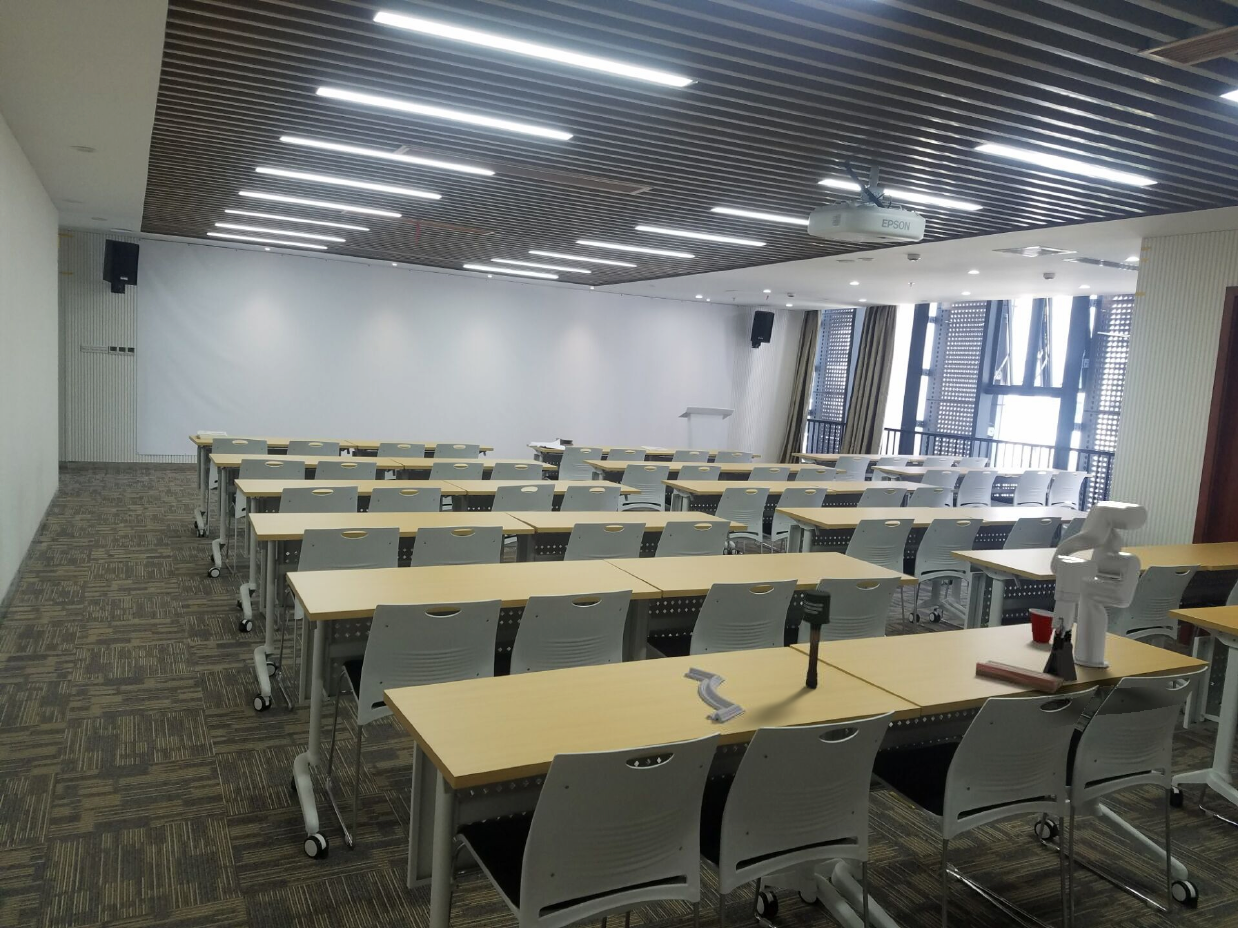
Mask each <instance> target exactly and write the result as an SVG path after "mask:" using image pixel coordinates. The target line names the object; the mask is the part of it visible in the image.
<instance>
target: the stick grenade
mask: <svg viewBox="0 0 1238 928" xmlns="http://www.w3.org/2000/svg"><path fill="white" fill-rule="evenodd" d="M831 598H832V595H831V592H829V591H827V590H821V589H807V590H805V592H804V601H803V602H804V605H803V616H801V621H803V622H806V623H808V624H810V626H809V653H808V654H809V655H808V665H807V666H808V667H807V671H806V679H805V687H807V688H808V687H810V688H809V689H816V688H817V687H818V683H819V682H818V661H819V646H820V641H821V630H822V625H828V624H831V619H830V614H831ZM815 687H816V688H815Z"/></svg>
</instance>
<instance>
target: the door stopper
mask: <svg viewBox="0 0 1238 928" xmlns="http://www.w3.org/2000/svg"><path fill="white" fill-rule="evenodd" d="M1073 649H1074V645H1073V643H1072V641H1071V642H1064V648H1063V650H1061V649H1056V648H1053V643H1051V651H1050V653H1049V656H1048V658H1047V661H1046V663H1045V666H1044V668H1043V669H1042V673H1046V674H1051V675H1055V676H1059V677H1064V682H1075V681H1074V680H1077V681H1078V675H1077V671H1076V667H1075V666H1076V665H1075V664H1076V663H1074V658H1073V654H1074V652H1073V651H1074V650H1073Z"/></svg>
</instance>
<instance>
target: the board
mask: <svg viewBox="0 0 1238 928" xmlns="http://www.w3.org/2000/svg"><path fill="white" fill-rule="evenodd" d="M975 663H976V665H975V674H976V676H979V677H983V676H984V678H988V679H992V680H996V679H997V680H996V681H1001V682H1004V683H1008V684H1013V685H1016V686H1020V687H1025V688H1029V689H1033V690H1038V691H1040V692H1041V691H1042V692H1045V693H1050V694H1054V693H1055V692H1056V691H1057V690H1058V689H1060V687H1062V686H1063V685H1064V684H1065V681H1064V677H1059V676H1055V675H1051V674H1046V673H1043V671H1042V672H1041V671H1037V670H1032V669H1028V668H1024V667H1019V666H1015V665H1012V664H1007V663H1002V662H998V661H994V660H987V661H985V662H979V661H977V662H975ZM1063 683H1064V684H1063ZM1061 685H1062V686H1061Z"/></svg>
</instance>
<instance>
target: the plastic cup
mask: <svg viewBox="0 0 1238 928" xmlns="http://www.w3.org/2000/svg"><path fill="white" fill-rule="evenodd" d="M1028 610H1029V613H1030V622H1031V623H1030V625H1031V632H1032V640H1033V642H1034V643H1039V644H1046V645H1047V644H1049V643H1050V641H1051V639H1052V635H1053V632H1054V629H1052V621H1053V614H1054V611H1053V612H1052V611H1048V610H1044V609H1038V608H1029V609H1028Z"/></svg>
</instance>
